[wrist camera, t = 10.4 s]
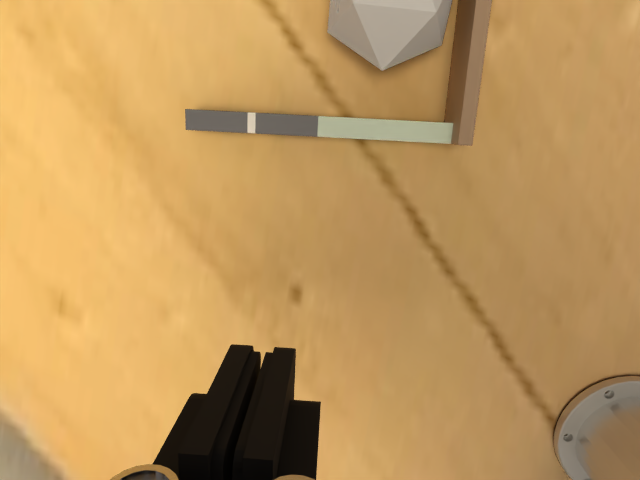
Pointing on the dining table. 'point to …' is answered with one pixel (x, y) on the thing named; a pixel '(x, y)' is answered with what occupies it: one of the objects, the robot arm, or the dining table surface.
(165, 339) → the dining table surface
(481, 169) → the dining table surface
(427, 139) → the trap lane
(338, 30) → the die
